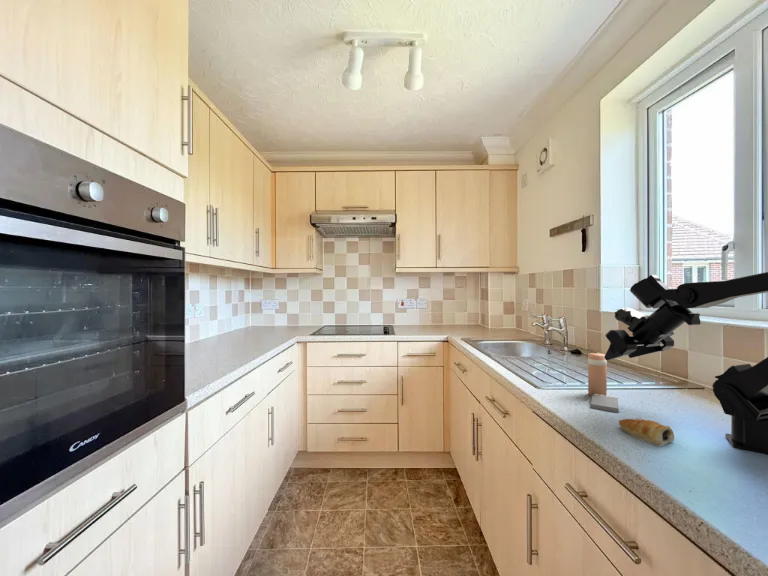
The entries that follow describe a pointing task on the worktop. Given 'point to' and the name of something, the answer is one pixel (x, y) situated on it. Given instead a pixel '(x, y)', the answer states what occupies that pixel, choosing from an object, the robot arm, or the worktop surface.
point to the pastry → (647, 431)
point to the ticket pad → (604, 402)
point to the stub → (597, 374)
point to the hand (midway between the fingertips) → (617, 357)
